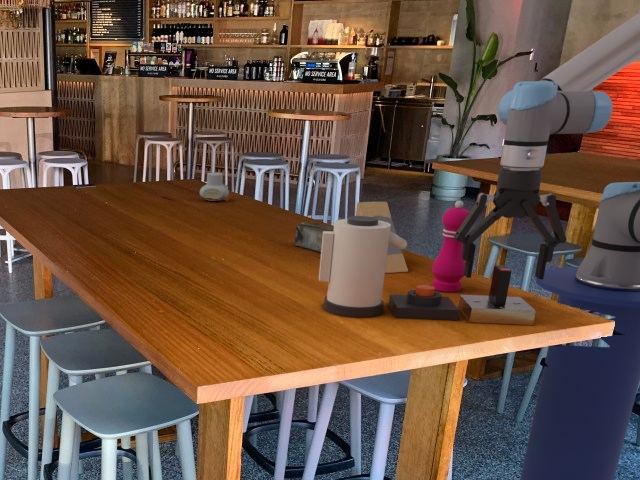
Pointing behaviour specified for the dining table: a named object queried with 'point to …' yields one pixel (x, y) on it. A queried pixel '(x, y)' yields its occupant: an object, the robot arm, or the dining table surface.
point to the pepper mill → (450, 252)
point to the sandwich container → (382, 213)
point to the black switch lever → (499, 285)
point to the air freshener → (214, 187)
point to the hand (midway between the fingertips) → (502, 277)
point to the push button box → (423, 306)
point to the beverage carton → (310, 235)
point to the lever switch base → (496, 310)
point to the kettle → (356, 265)
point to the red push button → (425, 290)
